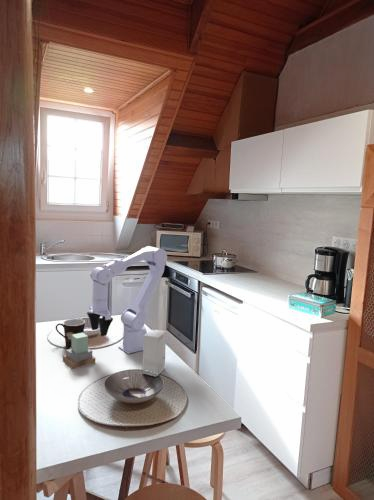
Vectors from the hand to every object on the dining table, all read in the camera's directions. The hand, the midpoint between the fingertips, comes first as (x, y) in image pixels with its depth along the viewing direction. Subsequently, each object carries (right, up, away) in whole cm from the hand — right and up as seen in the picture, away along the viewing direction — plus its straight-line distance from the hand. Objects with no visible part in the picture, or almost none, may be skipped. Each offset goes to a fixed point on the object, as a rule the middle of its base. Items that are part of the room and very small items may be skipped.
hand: (99, 332), depth 143 cm
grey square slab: (-7, -8, -4) cm, 11 cm away
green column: (-6, -6, -4) cm, 10 cm away
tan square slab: (-7, -11, -3) cm, 13 cm away
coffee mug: (-15, -8, +12) cm, 20 cm away
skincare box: (+22, -13, -8) cm, 27 cm away
